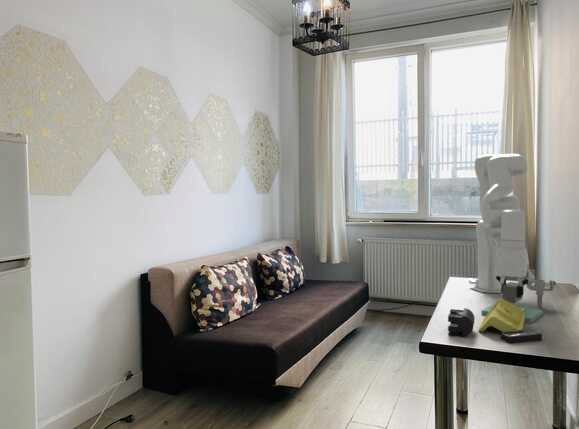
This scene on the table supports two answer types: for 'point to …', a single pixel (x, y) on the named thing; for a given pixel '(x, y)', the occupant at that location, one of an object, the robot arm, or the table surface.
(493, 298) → the table surface
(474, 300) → the table surface
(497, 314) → the plastic component
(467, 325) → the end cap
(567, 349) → the table surface
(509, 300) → the block
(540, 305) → the mechanical component
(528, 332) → the multiport hub
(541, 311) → the board
